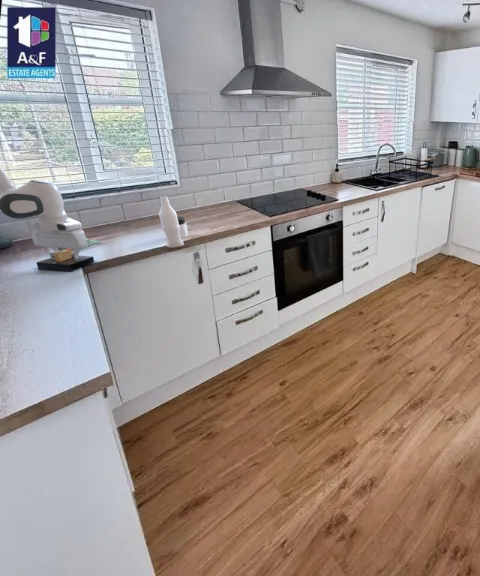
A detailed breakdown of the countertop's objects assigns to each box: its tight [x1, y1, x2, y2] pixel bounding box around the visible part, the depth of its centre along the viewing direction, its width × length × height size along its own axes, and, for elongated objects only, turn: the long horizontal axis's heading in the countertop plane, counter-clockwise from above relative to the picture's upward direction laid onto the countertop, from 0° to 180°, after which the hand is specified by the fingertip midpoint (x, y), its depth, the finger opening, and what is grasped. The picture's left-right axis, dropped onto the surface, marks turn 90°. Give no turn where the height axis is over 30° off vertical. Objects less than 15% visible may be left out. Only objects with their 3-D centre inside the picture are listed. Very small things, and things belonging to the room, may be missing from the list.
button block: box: [57, 237, 102, 251], centre depth 172 cm, size 10×13×4 cm
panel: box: [35, 255, 95, 273], centre depth 148 cm, size 14×11×3 cm
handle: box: [53, 248, 73, 262], centre depth 147 cm, size 6×2×4 cm, turn 174°
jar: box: [177, 216, 189, 239], centre depth 185 cm, size 9×8×12 cm
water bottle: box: [158, 195, 185, 249], centre depth 169 cm, size 7×7×25 cm
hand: (64, 257), depth 148 cm, fingers open, 8 cm apart
